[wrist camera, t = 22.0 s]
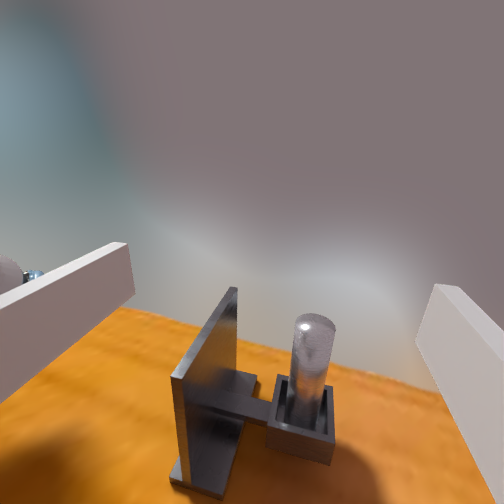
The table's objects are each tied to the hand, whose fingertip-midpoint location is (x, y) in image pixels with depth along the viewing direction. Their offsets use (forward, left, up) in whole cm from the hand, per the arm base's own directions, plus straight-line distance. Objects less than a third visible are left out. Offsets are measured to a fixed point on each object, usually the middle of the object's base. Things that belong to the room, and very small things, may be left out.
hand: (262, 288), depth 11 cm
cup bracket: (-2, +16, -34) cm, 37 cm away
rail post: (+3, +16, -29) cm, 33 cm away
